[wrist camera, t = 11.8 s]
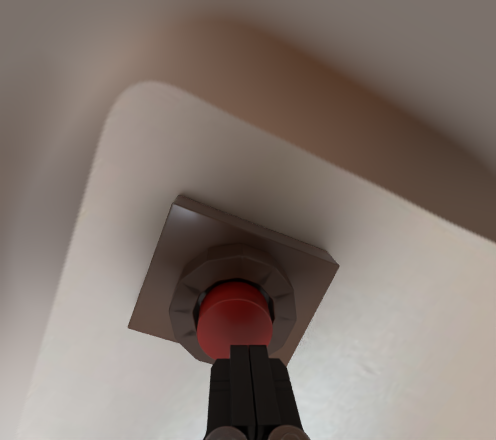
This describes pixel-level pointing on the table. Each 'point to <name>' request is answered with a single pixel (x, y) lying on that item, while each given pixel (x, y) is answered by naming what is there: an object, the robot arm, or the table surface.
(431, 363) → the table surface
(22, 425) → the table surface
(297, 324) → the control block
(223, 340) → the button
